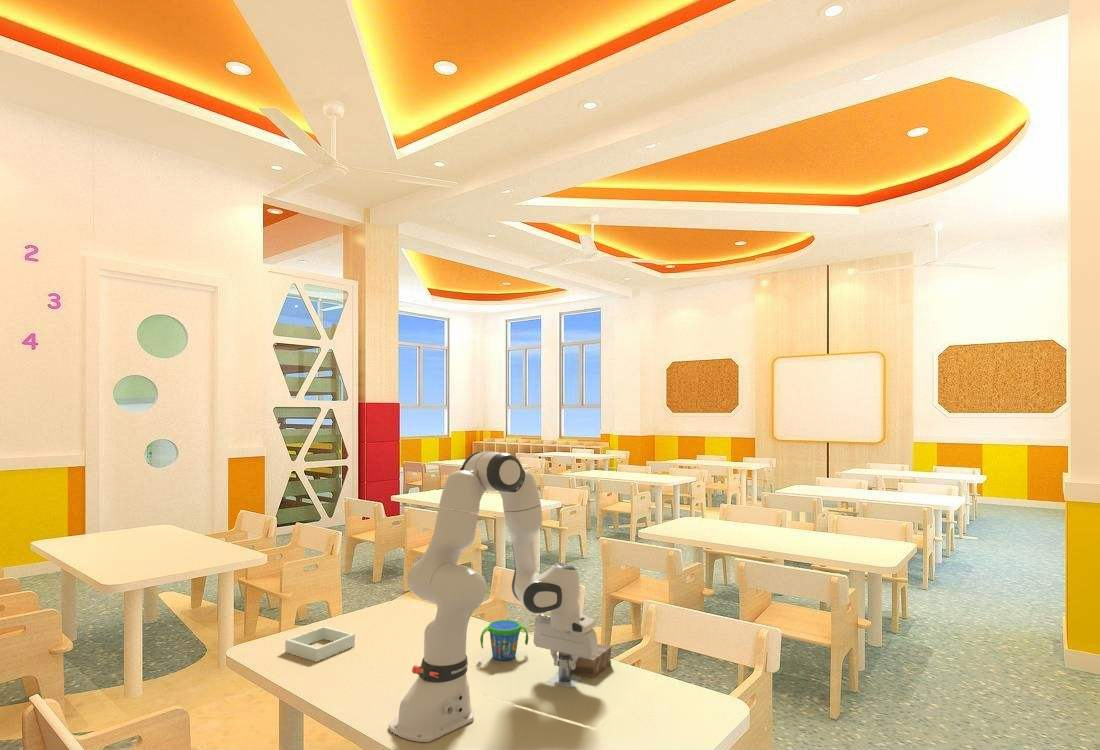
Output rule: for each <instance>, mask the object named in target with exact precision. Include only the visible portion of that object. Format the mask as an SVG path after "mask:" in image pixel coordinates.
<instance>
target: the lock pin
mask: <svg viewBox="0 0 1100 750" xmlns="http://www.w3.org/2000/svg"><path fill="white" fill-rule="evenodd" d="M558 657H559V666H558V673H559V681H560V682H569V681H571V675H572V673H571V669H569V668H568V667H569V666H568V665H569V663H570V662H571V655H570V654H566V653H561V654H559V653H558Z"/></svg>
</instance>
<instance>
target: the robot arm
mask: <svg viewBox="0 0 1100 750" xmlns="http://www.w3.org/2000/svg"><path fill="white" fill-rule="evenodd" d="M486 491H489V492H499V494H500V497H501V499H502V507H503V513H504V514H503V515H504V518H505V522H506V523H505V524H506V526H507V529H508V533H509V536H510V539H511V547H512V553H513V561H514V562H513V563H514V573H513V577H512V582H511V591H512V594H513V595H514V596H513V597H515V599H516V600H518V601H519V602H520V603H521V604H522V606H524V607H525V609H526V610H528V611H529V612H531V613H534V614H539V615H537V616H536V617H535V619H534V633H533V644H534V646H535V647H538V648H542V649H545V650H549V651H550V655H551V657H552V659H553V666H556V667H559V654H558V653H559V652H562V653H566V654H570V655H572V658H573V661H571V662H570V663H569V665H568V666H569V667H568V668H569V669H571V670H574V669H575V668H576V662H577V660H578V658H579V657H583V658H587V659H592V658H593V657H594V656H595V655H596V654H597V651H598V647H597V644H598V637H597V632H596V630H595V629H594V628H595V627H596V622H595V619H593V618H590V617H589V616H587V615H585V613H582V612H581V611H580V610H581V609H580V604H579V599H580V597H581V596H580V593H581V592H580V586H581V585H580V576H579V571H578V570H577V568H576V567H574V566H573V565H571V564H568V563H564V562H559V563H554V564H552V566H551V567H550V568H548V569H547V570H545V571H544V572H542V573H540V571H539V570H538V569H537V565H536V559H535V553H534V542H533V541H534V536H535V535H536V534H538V532H539V531H540V530H541V528H542V526H543V510H542V509H543V508H542V503H541V497H540V494H539V489H538V486H537V483H536V481H535V478H534V475H533V474H532V473H531V471H529V470H527V469H524V468H523V465H522V464H521V462H520V460H519V459H518V458H517V457H516V456H515V455H513V454H512V453H508V452H499V451H492V450H489V451H477V452H474V453H471V454H470V455H469V456H467V458H465V460H464V461H463V464H462V465H461V467H460V469H459V470H456V471H453V472H451V473H450V474H449V475H448V477H447V479H446V481H445V483H444V486H443V489H442V492H441V496H440V500H439V504H438V509H437V515H436V521H435V525H434V529H433V534H432V537H431V539H430V542H429V545H428V547H427V548H426V550H425V552H424V554H422V556H421V557H420V558H419V559H418V560H417V561H415V562H414V563H413V564H412V565H411V567H410V568H409V570H408V573H407V577H406V583H407V587H408V589H409V591H410V592H411V593H412V594H414V595H415V596H416V597H418V598H419V599H421V600H422V601H427V602H429V603H433V604H435V605H436V614H435V618H434V619H433V620H432V621H430V622H429V623H428V624H427V625H426V627H425V629H424V632H423V635H424V637H423V638H424V639H423V657H422V660H421V664H420V666H419V665H418V664H414V665H413V666H412V669H411V673H412V674H416V675H418V677H417V679H416V680H415V681H414V682H413V684H412V685H411V687H410V688H409V689H408V691H407V692H406V694H405V695H404V697H403V698H402V700H401V701H400V703H399V708H398V715H397V716H396V717H395V718H394V719H392V720H391V721H390V722H389V723H388V729H390V730H389V731H390V732H391V733H392V732H393V733H392V734H393V735H395V734H396V736H397V735H398V737H400V738H402V739H406V740H409V741H412V742H417V743H418V742H419V743H429V742H432V741H434V740H436V739H438V738H441V737H442V736H445V735H447V734H449V733H451V732H453V731H455V730H457V729H459V728H461V727H464V726H465V725H467V724H470V723H472V722H473V721H474V720H475V719H474V718H475V717H474V713H473V712H472V706H471V697H470V686H469V682H468V676H467V672H468V665H469V661H468V656H467V655H468V654H467V630H468V625H469V622H470V618H471V616H472V614H473V613H474V611H475V610H476V609H478V608H479V607H480V606H481V605H482V603H483V602H484V600H485V598H486V595H487V582H486V579H485V577H484V576H483V574H481V573H479V572H478V571H476V570H475V569H472V568H471V567H469V566H464V565H460V564H458V561H459V558H460V557H461V555H462V553H463V551H465V550H466V549H467V548H469V547H471V545H472V544H473V543H474V540H475V537H476V531H477V523H478V520H479V519H478V518H479V512H480V504H481V501H482V497H483V495H484V494H485V492H486ZM547 612H549V615H544V613H547Z"/></svg>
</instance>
